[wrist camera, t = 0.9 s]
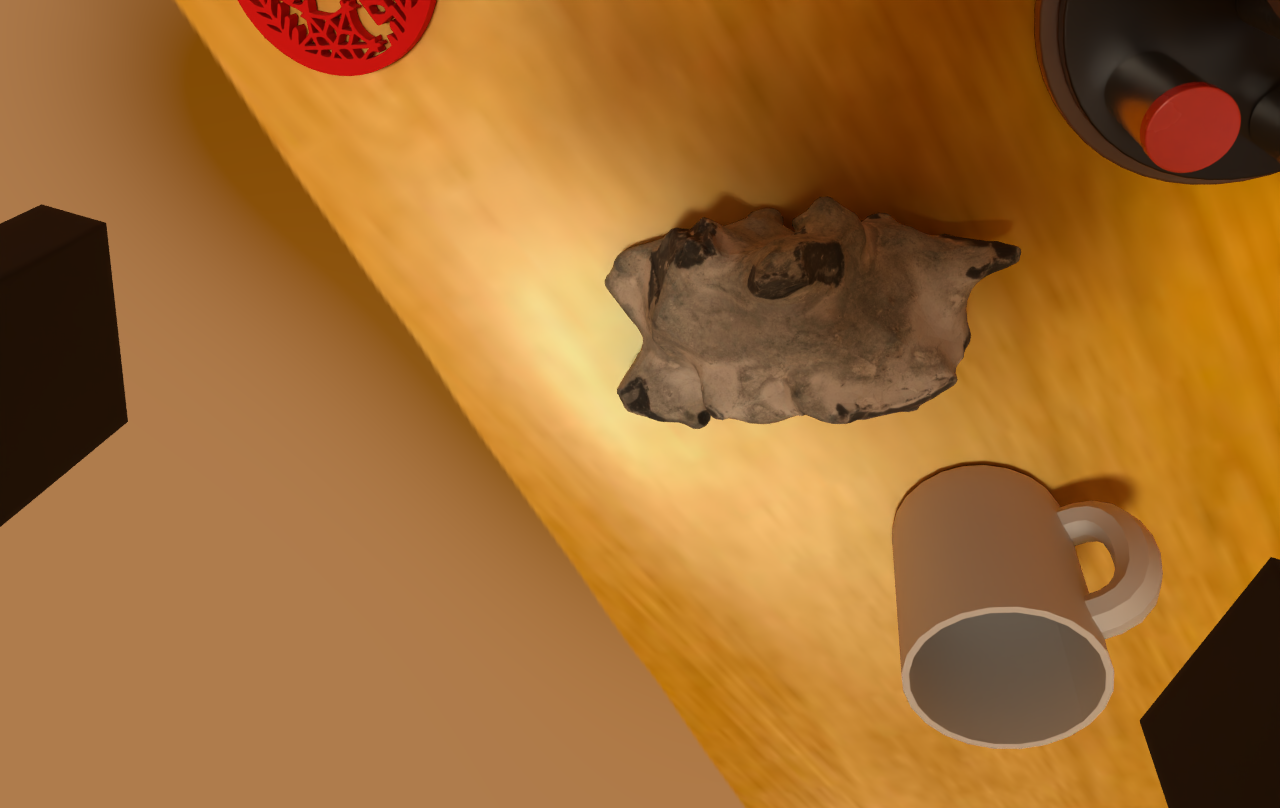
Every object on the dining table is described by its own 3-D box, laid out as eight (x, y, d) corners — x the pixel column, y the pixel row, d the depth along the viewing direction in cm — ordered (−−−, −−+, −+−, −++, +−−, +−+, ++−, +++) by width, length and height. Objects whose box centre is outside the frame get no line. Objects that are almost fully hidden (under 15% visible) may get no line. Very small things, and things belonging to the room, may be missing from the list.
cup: (862, 497, 41) (866, 644, 34) (1090, 406, 37) (1152, 551, 30) (935, 608, 44) (954, 767, 36) (1157, 534, 40) (1230, 698, 32)
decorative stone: (671, 458, 41) (605, 559, 32) (582, 269, 40) (485, 318, 30) (1042, 322, 35) (1091, 397, 26) (954, 95, 34) (974, 90, 25)
